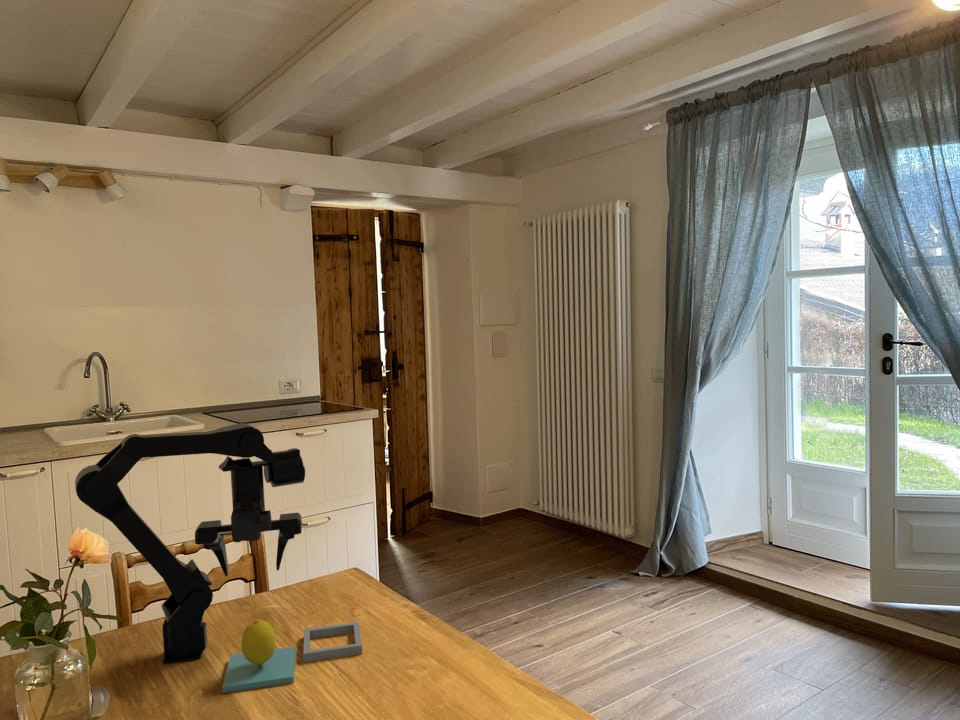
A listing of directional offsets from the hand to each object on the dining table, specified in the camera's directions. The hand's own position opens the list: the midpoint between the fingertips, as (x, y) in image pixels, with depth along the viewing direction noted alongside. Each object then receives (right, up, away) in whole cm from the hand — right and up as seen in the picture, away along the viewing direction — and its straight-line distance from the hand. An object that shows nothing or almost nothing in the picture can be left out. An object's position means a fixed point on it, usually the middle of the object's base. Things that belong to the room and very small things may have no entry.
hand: (252, 572), depth 130 cm
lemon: (+6, -12, -14) cm, 19 cm away
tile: (+6, -13, -13) cm, 19 cm away
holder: (+16, -12, -5) cm, 21 cm away
